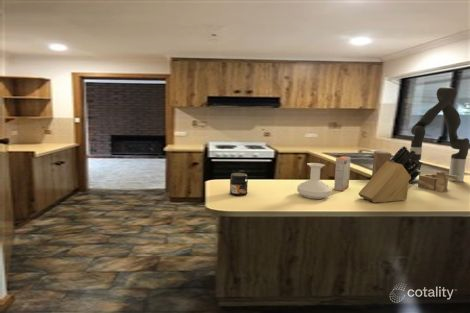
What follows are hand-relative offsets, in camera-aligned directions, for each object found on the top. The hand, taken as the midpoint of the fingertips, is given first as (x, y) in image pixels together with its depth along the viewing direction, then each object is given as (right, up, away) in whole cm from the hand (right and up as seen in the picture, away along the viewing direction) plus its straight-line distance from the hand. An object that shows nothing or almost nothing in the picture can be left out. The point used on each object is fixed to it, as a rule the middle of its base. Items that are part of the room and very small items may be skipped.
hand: (412, 175), depth 230 cm
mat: (0, -4, +1) cm, 4 cm away
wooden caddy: (+4, -7, -19) cm, 21 cm away
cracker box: (-63, -7, -27) cm, 69 cm away
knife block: (-43, -11, -49) cm, 66 cm away
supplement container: (-131, -8, -47) cm, 139 cm away
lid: (-4, -4, 0) cm, 5 cm away
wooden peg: (+5, 0, -30) cm, 31 cm away
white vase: (-86, -9, -47) cm, 99 cm away
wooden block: (-20, -2, +11) cm, 22 cm away
